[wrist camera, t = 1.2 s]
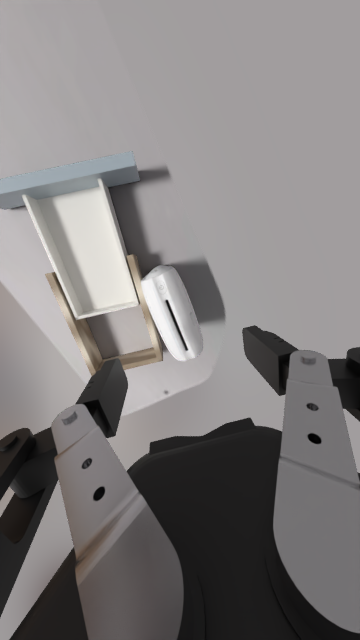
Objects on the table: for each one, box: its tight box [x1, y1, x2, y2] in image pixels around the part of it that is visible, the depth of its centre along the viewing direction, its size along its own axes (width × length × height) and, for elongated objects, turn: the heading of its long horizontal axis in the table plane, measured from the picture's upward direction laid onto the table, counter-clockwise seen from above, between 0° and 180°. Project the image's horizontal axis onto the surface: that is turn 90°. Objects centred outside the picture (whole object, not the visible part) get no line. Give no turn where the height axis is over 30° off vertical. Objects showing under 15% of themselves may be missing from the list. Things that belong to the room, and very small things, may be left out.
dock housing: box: [45, 254, 163, 376], centre depth 27 cm, size 16×11×4 cm
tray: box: [0, 151, 140, 320], centre depth 23 cm, size 16×17×4 cm
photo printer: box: [141, 265, 203, 361], centre depth 22 cm, size 10×4×12 cm, turn 21°
